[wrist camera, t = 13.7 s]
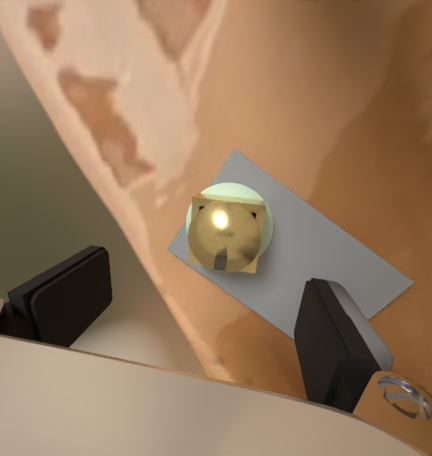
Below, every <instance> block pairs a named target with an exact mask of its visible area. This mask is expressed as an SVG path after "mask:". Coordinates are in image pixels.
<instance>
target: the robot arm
mask: <svg viewBox="0 0 432 456" xmlns="http://www.w3.org/2000/svg"><path fill="white" fill-rule="evenodd" d="M8 297H9V300H10V301H9V302H7V303H5V304H4V301H3V300H2V299H1V298H0V456H432V400H431V399H430V397H429V396H428V395H427V394H426V393H425V392H424V391H423V390H422V389H420V388H419V387H418V386H417V385H415V384H414V383H412V382H411V381H410V380H408V379H406V378H404V377H402V376H400V375H398V374H395V373H392V372H389V371H382V369H381V368H380V366H379V364H378V363H377V361H376V359H375V358H374V356H373V354H372V353H371V351H370V349H369V348H368V346H367V344H366V343H365V341H364V339H363V338H362V336H361V334H360V333H359V331H358V329H357V327H356V326H355V324H354V322H353V321H352V319H351V318H350V316H349V315H347V314H346V312H345V311H344V309H343V307H342V305H341V304H340V302H339V300H338V299H337V297H336V295H335V293H334V292H333V290H332V288H331V287H330V285H329V283H328V281H327V280H324V279H317V278H311V280H310V281H308V280H307V281H306V283H305V287H304V291H303V295H302V299H301V303H300V308H299V312H298V316H297V320H296V324H295V328H294V340H295V344H296V349H297V353H298V358H299V362H300V367H301V371H302V376H303V380H304V385H305V389H306V394H307V398H308V400H305V399H301V398H297V397H293V396H289V395H284V394H280V393H275V392H271V391H267V390H262V389H258V388H254V387H250V386H245V385H240V384H236V383H231V382H227V381H222V380H218V379H213V378H208V377H204V376H199V375H195V374H190V373H186V372H181V371H176V370H172V369H167V368H162V367H158V366H153V365H148V364H143V363H139V362H134V361H129V360H124V359H120V358H115V357H110V356H106V355H101V354H96V353H91V352H86V351H82V350H77V349H72V348H69V347H70V346H71V345H72V344H73V343H74V342H75V340H76V339H77V338H78V337H79V336H80V335H81V334H82V333H83V332H84V331H85V330H86V329H87V328H88V327H89V326H90V325H91V324H92V323H93V322H94V321H95V319H96V318H97V317H98V316H99V315H100V314H101V313H102V312H103V311H104V310H105V309H106V308H107V307H108V306H109V305H110V303H111V301H112V288H111V276H110V265H109V254H108V251H106V249H105V248H104V247H99V246H89V247H87V248H86V249H84V250H82V251H80V252H79V253H77V254H75V255H73V256H72V257H70V258H68V259H66V260H64V261H63V262H61V263H59V264H57V265H55V266H54V267H52V268H50V269H48V270H47V271H45V272H43V273H41V274H40V275H38V276H36V277H34V278H32V279H31V280H29V281H27V282H25V283H24V284H22V285H20V286H18V287H17V288H15V289H13V290H11V291H9V292H8Z"/></svg>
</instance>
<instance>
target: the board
mask: <svg viewBox="0 0 432 456" xmlns="http://www.w3.org/2000/svg"><path fill="white" fill-rule="evenodd" d="M201 193H207V194H216V195H224V196H233V197H241V198H250V199H259V200H264V201H265V204H266V210H265V216H264V222H263V229H262V235H261V246H260V250H259V253H258V260H257V266H256V272H255V274H254V273H248V272H242V271H235V272H230V273H223V272H217V271H213V270H211V269H209V268H207V267H205V266H203V265H197V264H191V263H188V260H189V243H188V229H189V226H190V223H191V211H192V204H191V205H190V207H189V210H188V213H187V217H186V222H185V223H184V225H183V226H182V227H181V229H180V230H179V232H178V233H177V235H176V236H175V238H174V239H173V241H172V242H171V244H170V245H169V247H168V248H167V250H168V251H170V252H171V253H172V254H174V255H175V256H177V257H178V258H179V259H181V260H182V261H184V262H185V263H187V264H188V265H189V266H191V267H192V268H194V269H195V270H196V271H198V272H199V273H201V274H202V275H203V276H205V277H206V278H208V279H209V280H210V281H212V282H213V283H215V284H216V285H218V286H219V287H220V288H222V289H223V290H225V291H226V292H227V293H229V294H230V295H232V296H233V297H234V298H236V299H237V300H239V301H240V302H241V303H243V304H244V305H246V306H247V307H249V308H250V309H251V310H253V311H254V312H256V313H257V314H258V315H260V316H261V317H263V318H264V319H265V320H267V321H268V322H270V323H271V324H273V325H274V326H275V327H277V328H278V329H280V330H281V331H282V332H284V333H285V334H287V335H288V336H289V337H291V338H292V339H294V328H295V324H296V320H297V316H298V312H299V308H300V303H301V299H302V295H303V291H304V287H305V283H306V281H307V280H308V281H310V280H311V278H317V279H324V280H327V281H328V283H329V285H330V287H331V288H332V290H333V292H334V293H335V295H336V297H337V299H338V300H339V302H340V304H341V305H342V307H343V309H344V311H345V312H346V314H347V315H349V316H350V318H351V319H352V321H353V322H354V324H355V326H356V327H357V329H358V331H359V333H360V334H361V336H362V338H363V339H364V341H365V343H366V344H367V346H368V348H369V349H370V351H371V353H372V354H373V356H374V358H375V359H376V361H377V363H378V364H379V366H380V368H381V369H382V371H389V370H390V369H391V367H392V364H393V356H392V353H391V351H390V349H389V348H388V347H387V345H386V344H385V343H384V341H383V340H382V339H381V337H380V336H379V334H378V333H377V332H376V330H375V329H374V328H373V326H372V325H371V324H370V322H369V321H368V320H369V319H370V318H371V317H373V316H374V315H375V314H376V313H378V312H379V311H380V310H381V309H383V308H384V307H385V306H386V305H388V304H389V303H390V302H391V301H393V300H394V299H395V298H396V297H398V296H399V295H400V294H401V293H402V292H404V291H405V290H406V289H407V288H409V287H410V286H411V285H412V284H414V283H415V282H413V281H412V280H411V279H409V278H408V277H407V276H405V275H404V274H402V273H401V272H400V271H398V270H397V269H396V268H394V267H393V266H392V265H390V264H389V263H388V262H386V261H385V260H384V259H382V258H381V257H380V256H378V255H377V254H375V253H374V252H373V251H371V250H370V249H369V248H367V247H366V246H365V245H363V244H362V243H361V242H359V241H358V240H357V239H355V238H354V237H353V236H351V235H350V234H349V233H347V232H346V231H344V230H343V229H342V228H340V227H339V226H338V225H336V224H335V223H334V222H332V221H331V220H330V219H328V218H327V217H326V216H324V215H323V214H322V213H320V212H319V211H318V210H316V209H315V208H313V207H312V206H311V205H309V204H308V203H307V202H305V201H304V200H303V199H301V198H300V197H299V196H297V195H296V194H295V193H293V192H292V191H291V190H289V189H288V188H286V187H285V186H284V185H282V184H281V183H280V182H278V181H277V180H276V179H274V178H273V177H272V176H270V175H269V174H268V173H266V172H265V171H264V170H262V169H261V168H260V167H258V166H257V165H255V164H254V163H253V162H251V161H250V160H249V159H247V158H246V157H245V156H243V155H242V154H241V153H239V152H238V151H237V150H235V149H234V151H233V152H232V154H231V155H230V156H229V158H228V159H227V161H226V162H225V164H224V165H223V167H222V168H221V170H220V171H219V173H218V174H217V176H216V177H215V179H214V180H213V182H212V183H211V185H210V186H209V188H207V189H205V190H204V191H202V192H201ZM251 213H252V214H253V215H254V217H255V213H253V212H251Z"/></svg>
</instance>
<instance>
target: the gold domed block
mask: <svg viewBox="0 0 432 456" xmlns="http://www.w3.org/2000/svg"><path fill="white" fill-rule="evenodd" d="M265 210H266V204H265V201H264V200H259V199H250V198H241V197H233V196H224V195H216V194H207V193H199V194H197V195H195V196H193V197H192V211H191V223H190V226H189V229H188V243H189V260H188V263H191V264H197V265H203V266H205V267H207V268H209V269H211V270H213V271H217V272H223V273H230V272H235V271H242V272H248V273H254V274H255V272H256V266H257V260H258V253H259V250H260V246H261V235H262V229H263V222H264V216H265ZM251 212H253V213H255V217H254V215H253V214H252V213H251Z"/></svg>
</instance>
